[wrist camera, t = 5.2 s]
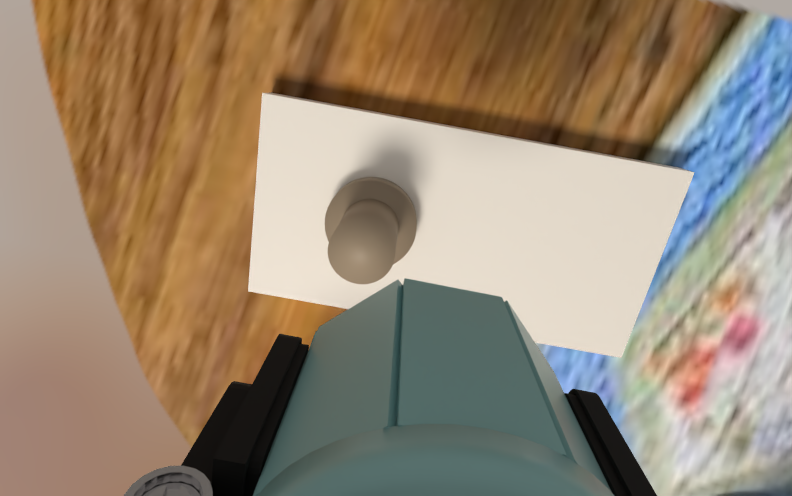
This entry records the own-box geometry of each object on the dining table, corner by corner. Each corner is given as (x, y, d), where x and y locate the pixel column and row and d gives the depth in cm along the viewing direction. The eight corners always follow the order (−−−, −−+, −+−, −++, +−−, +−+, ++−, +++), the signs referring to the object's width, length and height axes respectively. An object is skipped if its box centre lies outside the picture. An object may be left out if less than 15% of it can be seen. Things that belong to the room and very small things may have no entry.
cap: (588, 305, 11) (767, 536, 6) (512, 504, 13) (584, 812, 8) (319, 253, 11) (220, 438, 5) (288, 465, 13) (195, 752, 8)
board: (678, 167, 27) (767, 195, 20) (611, 344, 31) (665, 417, 24) (271, 92, 27) (220, 94, 20) (256, 281, 31) (210, 336, 24)
